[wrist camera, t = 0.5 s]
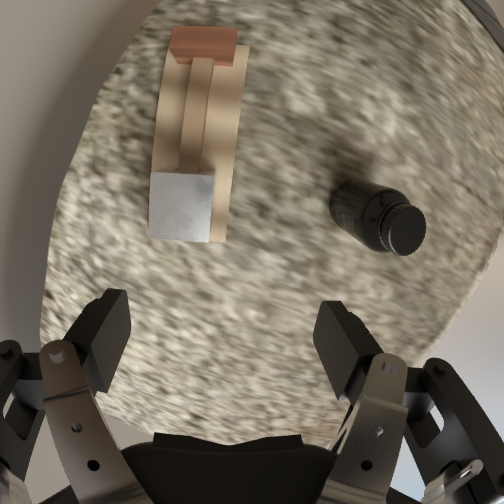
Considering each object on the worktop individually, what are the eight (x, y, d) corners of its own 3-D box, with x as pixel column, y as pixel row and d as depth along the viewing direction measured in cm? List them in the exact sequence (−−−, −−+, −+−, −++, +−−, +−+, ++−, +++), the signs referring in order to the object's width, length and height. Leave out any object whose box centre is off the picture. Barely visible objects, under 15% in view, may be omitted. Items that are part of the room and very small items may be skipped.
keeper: (165, 167, 27) (150, 172, 22) (216, 170, 28) (214, 176, 22) (162, 221, 29) (148, 238, 24) (211, 225, 30) (208, 242, 24)
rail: (171, 46, 23) (159, 22, 17) (248, 50, 25) (255, 26, 18) (152, 232, 31) (135, 253, 25) (225, 238, 33) (225, 260, 26)
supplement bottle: (370, 232, 34) (423, 268, 23) (325, 228, 33) (369, 267, 22) (379, 182, 32) (440, 201, 21) (332, 174, 31) (385, 190, 20)
